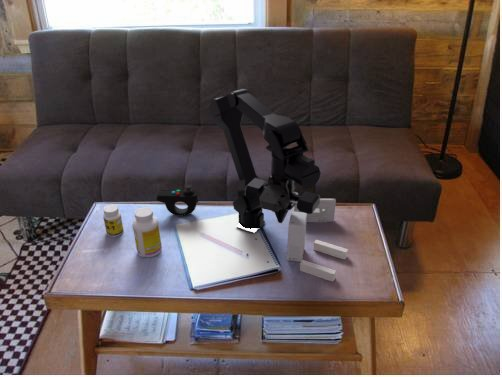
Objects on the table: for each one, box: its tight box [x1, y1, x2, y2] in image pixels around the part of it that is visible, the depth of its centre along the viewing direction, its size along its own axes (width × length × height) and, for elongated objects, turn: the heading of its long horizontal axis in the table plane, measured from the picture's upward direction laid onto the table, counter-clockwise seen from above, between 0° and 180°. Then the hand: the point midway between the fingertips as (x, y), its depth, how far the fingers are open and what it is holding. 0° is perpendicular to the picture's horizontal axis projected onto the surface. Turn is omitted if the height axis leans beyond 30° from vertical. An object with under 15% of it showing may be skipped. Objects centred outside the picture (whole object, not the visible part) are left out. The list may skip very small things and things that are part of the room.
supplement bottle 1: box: [102, 204, 124, 238], centre depth 132 cm, size 5×5×8 cm
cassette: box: [293, 198, 337, 223], centre depth 137 cm, size 12×2×8 cm, turn 89°
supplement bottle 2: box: [132, 206, 162, 258], centre depth 124 cm, size 7×7×13 cm
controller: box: [156, 184, 199, 217], centre depth 139 cm, size 4×12×10 cm, turn 90°
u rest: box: [299, 239, 349, 282], centre depth 122 cm, size 9×11×2 cm
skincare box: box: [286, 210, 307, 263], centre depth 122 cm, size 6×4×12 cm
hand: (280, 222), depth 123 cm, fingers closed
